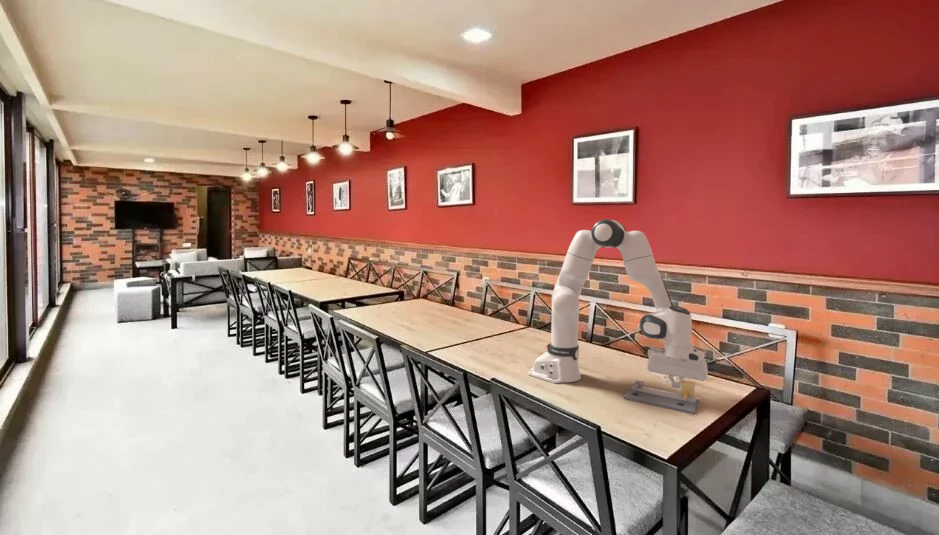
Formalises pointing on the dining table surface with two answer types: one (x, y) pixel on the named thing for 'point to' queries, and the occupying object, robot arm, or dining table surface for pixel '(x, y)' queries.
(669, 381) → the scissors
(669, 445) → the dining table surface
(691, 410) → the plate
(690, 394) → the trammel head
